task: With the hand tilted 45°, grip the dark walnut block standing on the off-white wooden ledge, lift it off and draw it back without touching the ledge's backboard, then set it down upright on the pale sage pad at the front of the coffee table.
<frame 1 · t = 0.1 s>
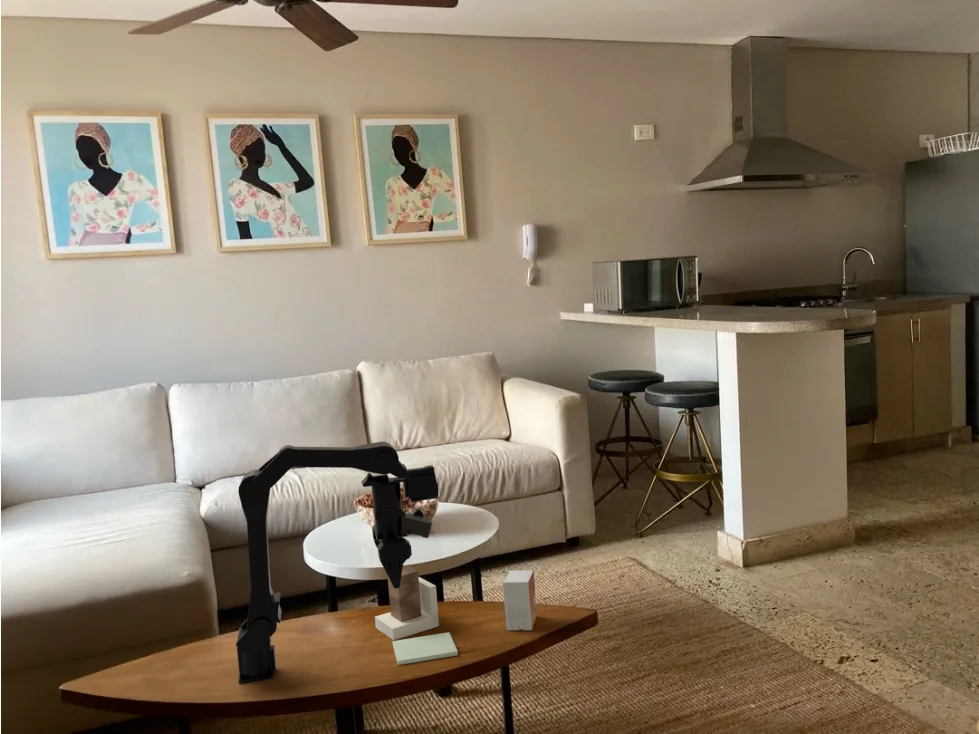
hand: (394, 580, 162), 15 cm above the table, tool pointing down, fingers open, 9 cm apart
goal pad: (424, 649, 162), on the table
small box: (522, 624, 172), on the table
ledge: (407, 626, 175), on the table
walnut block: (406, 615, 175), point 2 cm above the table, touching ledge
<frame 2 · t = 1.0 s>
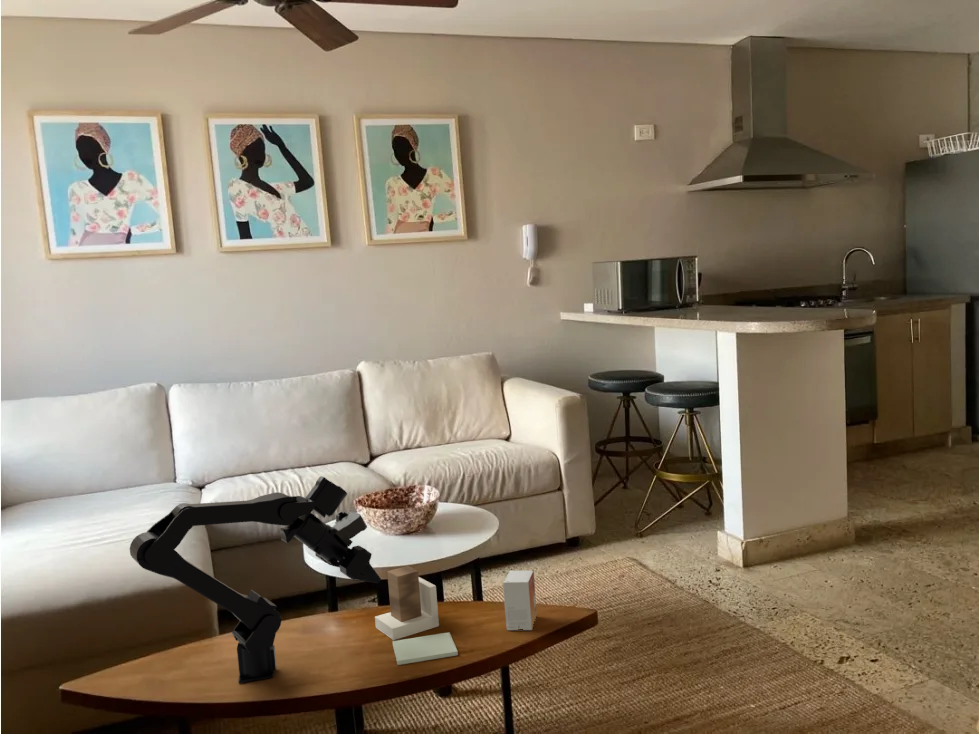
hand: (370, 575, 170), 13 cm above the table, tool tilted 45°, fingers open, 9 cm apart
nothing on the table moved.
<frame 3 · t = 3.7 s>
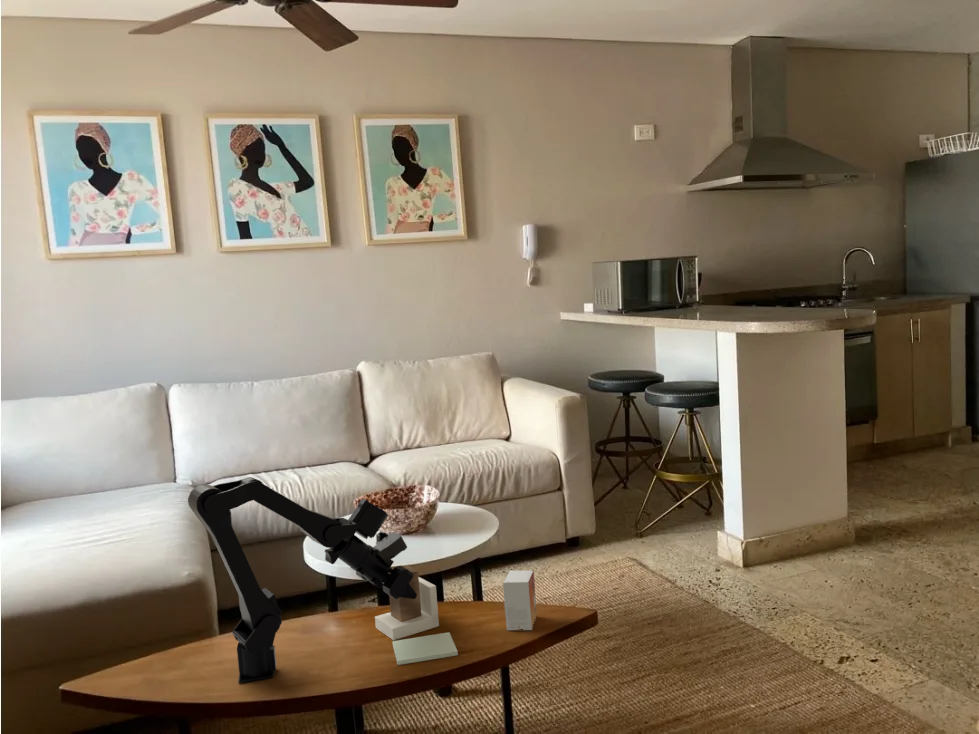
hand: (410, 593, 175), 7 cm above the table, tool tilted 45°, fingers closed on walnut block, 5 cm apart
walnut block: (406, 615, 175), point 2 cm above the table, touching gripper, ledge
everything else where it was.
when the fingers open (7 cm above the table, at t = 8.1 s): walnut block drops 2 cm, resting on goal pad.
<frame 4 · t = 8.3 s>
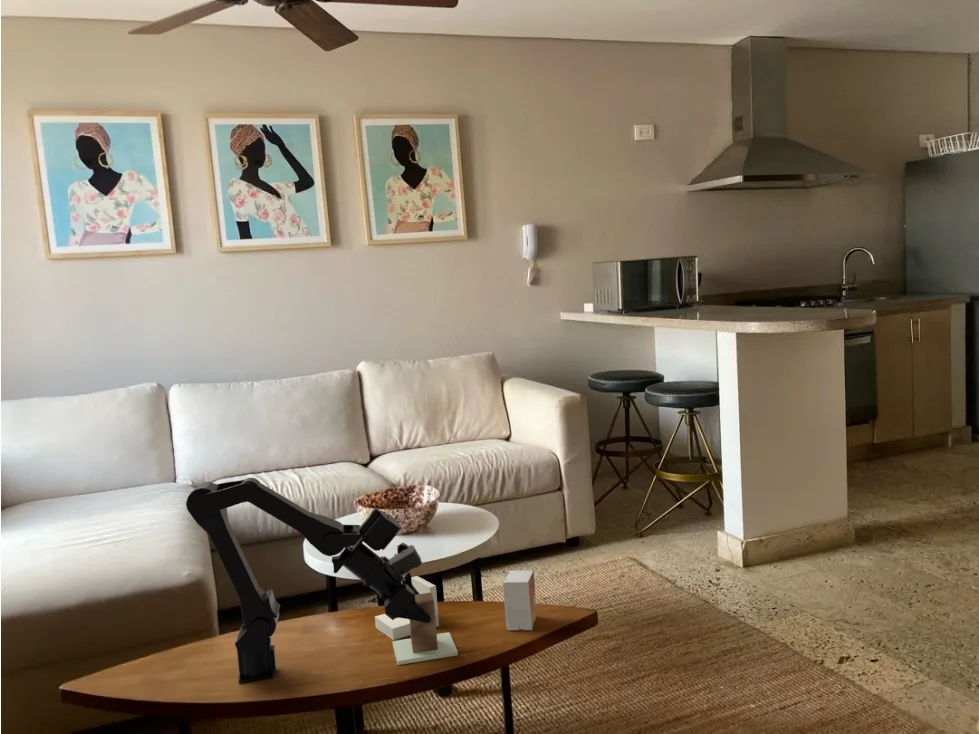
hand: (428, 613, 162), 7 cm above the table, tool tilted 45°, fingers open, 7 cm apart
walnut block: (424, 646, 162), point 1 cm above the table, touching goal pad
everything else where it was.
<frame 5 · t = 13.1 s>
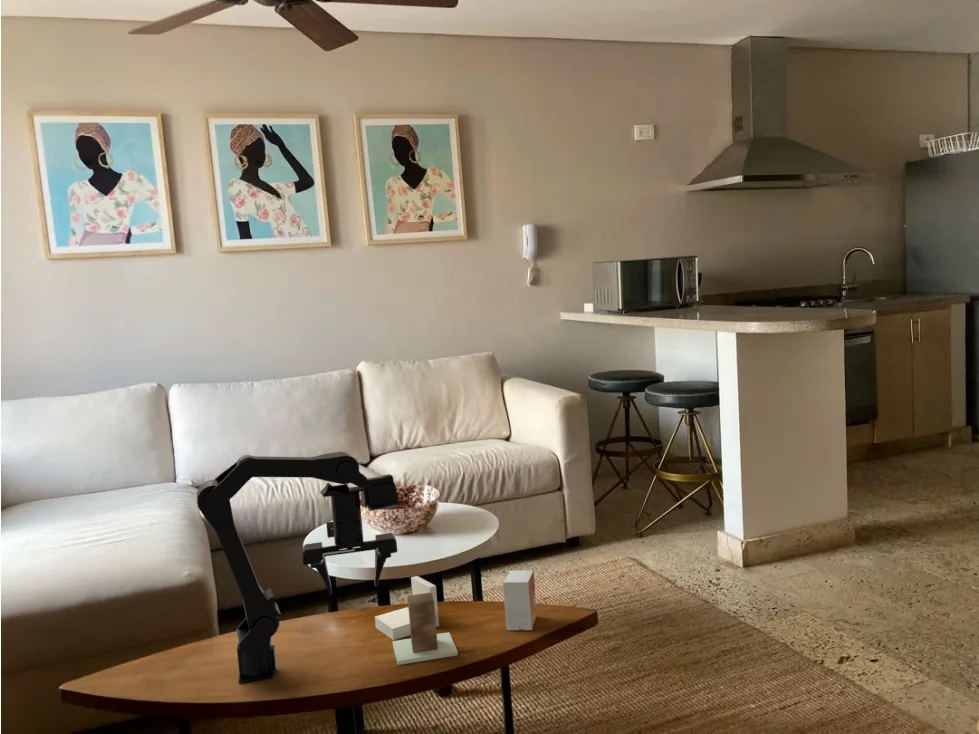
hand: (353, 589, 163), 13 cm above the table, tool pointing down, fingers open, 9 cm apart
nothing on the table moved.
at the end: walnut block inside the target area on the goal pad (0.0 cm from its centre), point 0.8 cm above the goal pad's base; walnut block tilted 0°; the gripper is holding nothing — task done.
